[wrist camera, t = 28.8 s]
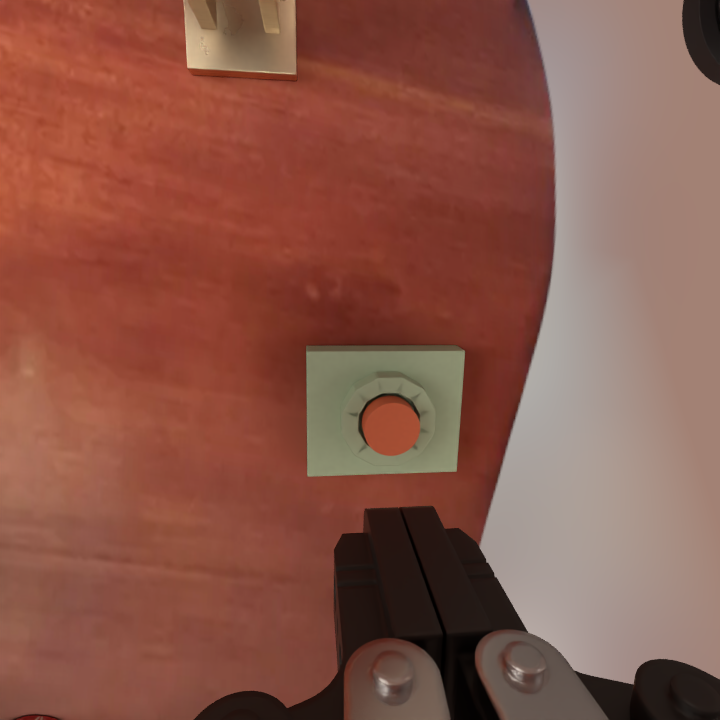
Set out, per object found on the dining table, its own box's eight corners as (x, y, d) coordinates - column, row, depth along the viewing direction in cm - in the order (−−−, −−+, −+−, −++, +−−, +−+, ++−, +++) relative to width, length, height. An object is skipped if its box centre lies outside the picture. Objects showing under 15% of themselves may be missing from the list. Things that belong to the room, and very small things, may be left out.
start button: (416, 394, 35) (421, 402, 33) (413, 445, 35) (418, 455, 34) (362, 395, 34) (364, 403, 32) (361, 447, 35) (363, 457, 33)
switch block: (456, 344, 38) (473, 355, 34) (448, 459, 40) (464, 482, 36) (306, 345, 37) (306, 357, 33) (307, 464, 39) (307, 488, 35)
